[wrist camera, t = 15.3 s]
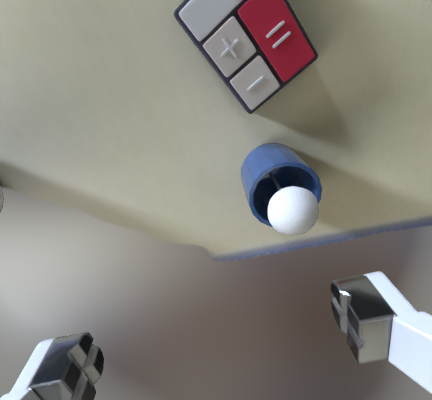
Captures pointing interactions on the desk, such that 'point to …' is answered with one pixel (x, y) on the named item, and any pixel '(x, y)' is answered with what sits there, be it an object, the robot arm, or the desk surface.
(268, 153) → the cup
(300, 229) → the lollipop
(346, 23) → the desk surface
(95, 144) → the desk surface
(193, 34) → the calculator
